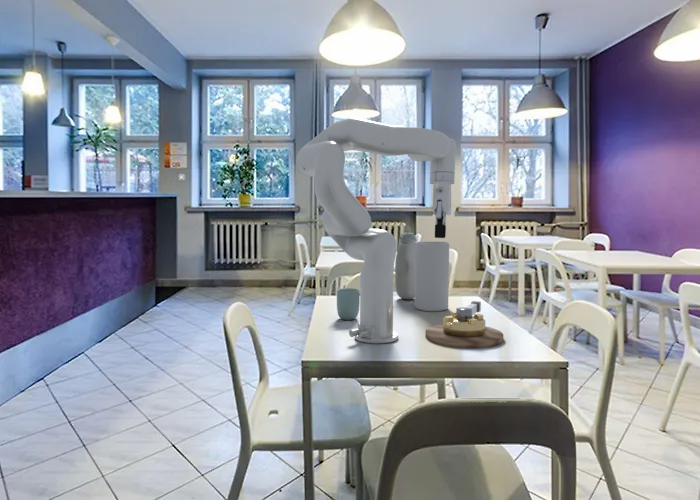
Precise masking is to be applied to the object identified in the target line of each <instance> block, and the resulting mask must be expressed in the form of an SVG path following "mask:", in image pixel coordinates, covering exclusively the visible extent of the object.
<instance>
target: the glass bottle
mask: <svg viewBox="0 0 700 500" xmlns="http://www.w3.org/2000/svg"><path fill="white" fill-rule="evenodd" d="M415 242H418V239H417V236H416V234H414V233H413V232H409V231H408V232H402V233H401V234H400V236H399V238H398V244H397V251H396V257H395V261H394V268H395V269H394V272H395V274H394V276H395V279H394V280H395V292H396V294H397V296H398V297H399V298H401V299H402V298H403V300H413V299H415Z"/></svg>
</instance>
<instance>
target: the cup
mask: <svg viewBox="0 0 700 500" xmlns="http://www.w3.org/2000/svg"><path fill="white" fill-rule="evenodd" d="M336 311H337V312H336V313H337V315H338V317H339V319H341V320H343V321H352V320H355V319H357V318H358V316H359V314H360V288H354V287H353V288H352V287H349V288H348V287H347V288H338V289H337V290H336Z"/></svg>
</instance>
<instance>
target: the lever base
mask: <svg viewBox="0 0 700 500" xmlns="http://www.w3.org/2000/svg"><path fill="white" fill-rule="evenodd" d="M425 338H426V340H428V341H430V342H432V343H434V344H437V345H440V344H441V346H445V345H446V346H445V347H450V346H451V348H459V349H461V348H462V349H485V347H487V348H493V347H497V346H499V345H502V343H504V333H503V332H502V331H500V330H499V329H496V328H494V327H490V326H486V325H485V334H484V335H481V336H475V337H462V336H454V335H450V334H447V333H445V332H443V323H440V324H434V325H431V326H429V327H427V328H426V329H425Z"/></svg>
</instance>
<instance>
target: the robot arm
mask: <svg viewBox="0 0 700 500" xmlns="http://www.w3.org/2000/svg"><path fill="white" fill-rule="evenodd" d="M456 145H457V144H456V141H455V139H453V138H450V137H448V136H447V135H446V134H445V133H444V132H441V131H439V130H436V129H435V130H434V129H429V128H427V127H426V128H425V127H414V126H403V125H390V124H387V123H381V122H377V121H372V120H368V119H364V118H360V117H359V118H358V117H349V118H345V119H342V120H339V121H336V122H333V123H331V124H330V125H329V126H327V127H326V128H324V129H323V130H322V131H321V132H320V133H319V134H317V135H316V136H314V138H313V139H311V140H309V142H307V143H306V144H305V145H304V146H303V147H301V148H300V150H298V153H297V155H296V161H295V162H296V166H297V168H298V170H299V171H300V173H302V174H303V175H304V176H308V177H313V179H314V181H313V182H314V183H313V185H314V186H313V187H314V194H315V197H316V199H317V201H318V203H319V205H321V207H322V208H323V209H324V211H323V212H322V217H321V221H322V226H323V228H324V230H325V232H326V234H327V235H328V236H330V238H331V239H332V240H333V241H334V243H336V244H337V245H338V246H339V248H341V250H342V251H343V252H344V253H345V254H346V255H348V256H349V257H351V258H352V259H354V260H357V261H363V265H362V267H361V271H360V275H359V294H360V302H359V323H358V324H357V327H356V328H353V329H350V330H349V331H348V335H349V336H350V337H351V338H353V337H354V339H356V340H357V341H359V342H362V343H365V344H366V343H367V344H388V343H392V342H395V341H397V340H398V339H399V334H398V333H397V332H396V331H394V271H395V269H394V268H395V261H396V255H397V251H398V244H397V240H396V238H395V236H394V235H393V233H391V232H390V231H387V230H386V229H380V228H371V227H372V218H371V215H370V213H369V211H367V209H366V208H365V207H364V206H363V204H362V203H361V202H360V200H358V198H356V196H355V195H354V194H353V193H352V191H351V190H350V189H349V187H348V186H347V185H346V182H345V178H344V176H345V175H344V172H345V171H344V169H345V165H346V155H345V152H349V151H355V152H356V151H357V152H362V153H363V152H364V153H369V154H375V155H381V156H385V157H386V156H393V157H395V156H404V155H405V156H408V157H409V159H411V160H412V161H414V162H430V171H429V173H430V174H429V176H430V177H429V184H430V185H432V186H433V188H432V214H433V215H435V225H434V238H436V239H445V238H446V235H447V234H446V232H447V231H446V230H447V227H446V226H447V225H446V223H447V221H446V220H447V216H451V215H452V185H454V184H455V177H456V174H455V173H456V152H457V151H456V150H457V149H456V147H457V146H456Z"/></svg>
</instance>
